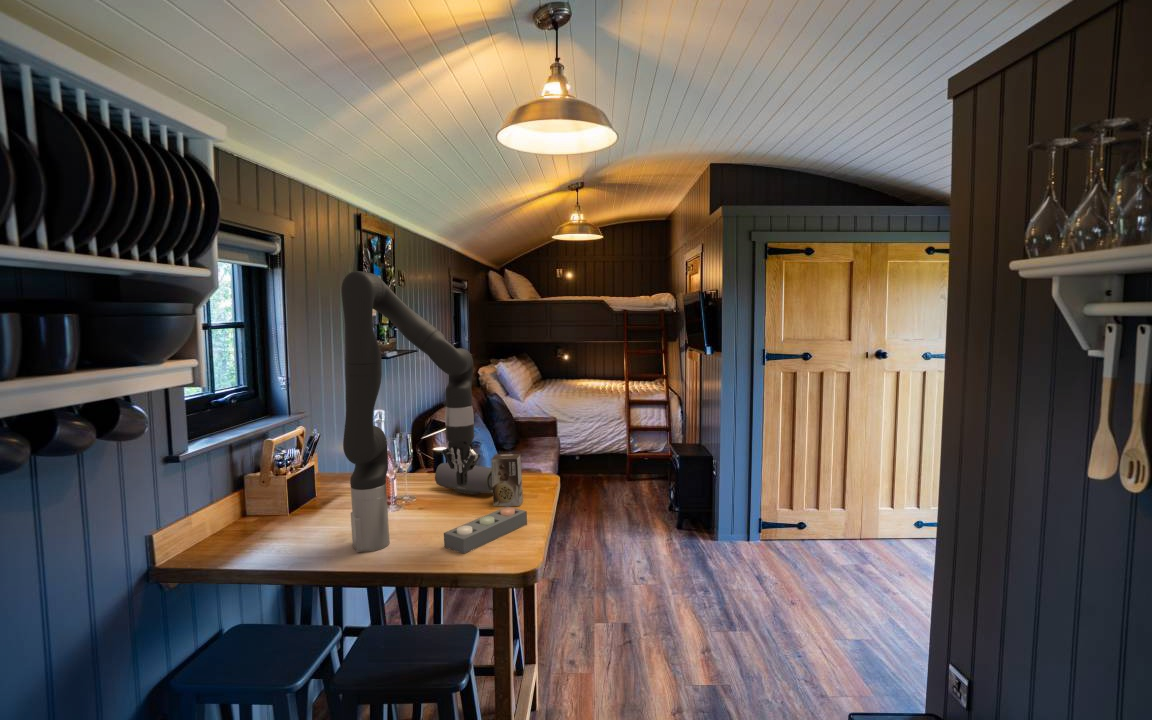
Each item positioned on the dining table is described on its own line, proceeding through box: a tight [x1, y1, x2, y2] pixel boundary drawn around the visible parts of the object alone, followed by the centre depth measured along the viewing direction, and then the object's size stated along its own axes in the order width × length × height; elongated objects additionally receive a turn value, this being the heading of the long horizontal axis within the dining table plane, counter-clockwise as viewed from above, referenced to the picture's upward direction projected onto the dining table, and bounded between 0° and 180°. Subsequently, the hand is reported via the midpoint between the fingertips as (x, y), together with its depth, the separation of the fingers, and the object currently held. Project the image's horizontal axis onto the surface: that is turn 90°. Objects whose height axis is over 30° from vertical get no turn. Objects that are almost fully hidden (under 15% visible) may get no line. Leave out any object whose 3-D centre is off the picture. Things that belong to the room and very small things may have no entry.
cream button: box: [456, 525, 472, 536], centre depth 155 cm, size 4×4×3 cm
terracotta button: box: [500, 507, 515, 517], centre depth 169 cm, size 4×4×3 cm
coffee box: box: [490, 453, 524, 507], centre depth 189 cm, size 9×6×16 cm
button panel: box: [443, 506, 528, 554], centre depth 162 cm, size 25×8×4 cm, turn 143°
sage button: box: [479, 516, 495, 526], centre depth 162 cm, size 4×4×3 cm
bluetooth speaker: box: [434, 462, 493, 495], centre depth 202 cm, size 23×9×10 cm, turn 64°
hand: (462, 485), depth 154 cm, fingers closed
